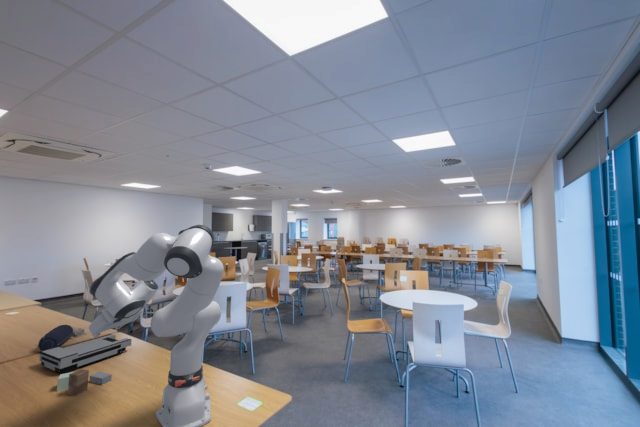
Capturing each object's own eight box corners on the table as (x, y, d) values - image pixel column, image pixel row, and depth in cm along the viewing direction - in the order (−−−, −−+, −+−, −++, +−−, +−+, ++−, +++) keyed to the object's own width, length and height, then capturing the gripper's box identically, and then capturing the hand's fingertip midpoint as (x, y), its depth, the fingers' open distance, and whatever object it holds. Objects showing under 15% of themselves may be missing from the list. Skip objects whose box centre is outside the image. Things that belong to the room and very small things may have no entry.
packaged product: (88, 327, 188) (71, 332, 179) (87, 334, 188) (71, 339, 178) (68, 324, 193) (51, 329, 183) (67, 332, 193) (50, 337, 183)
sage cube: (72, 388, 121) (73, 376, 121) (56, 391, 118) (57, 379, 119) (74, 383, 125) (75, 371, 126) (59, 386, 122) (60, 374, 123)
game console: (130, 352, 159) (131, 337, 160) (59, 377, 131) (60, 359, 131) (109, 345, 168) (110, 331, 169) (38, 368, 140) (40, 351, 140)
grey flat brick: (111, 381, 127) (111, 374, 127) (101, 385, 123) (102, 378, 124) (98, 378, 130) (99, 371, 130) (89, 382, 126) (89, 375, 126)
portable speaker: (53, 340, 176) (55, 324, 177) (74, 338, 181) (75, 322, 181) (34, 355, 154) (35, 336, 155) (58, 352, 158) (59, 334, 159)
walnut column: (87, 389, 120) (88, 370, 120) (76, 395, 115) (77, 375, 116) (79, 388, 120) (80, 369, 121) (67, 394, 116) (69, 374, 117)
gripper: (143, 298, 127) (123, 319, 128) (99, 309, 107) (76, 334, 108) (151, 308, 126) (131, 329, 127) (108, 322, 106) (85, 347, 107)
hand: (106, 331), depth 117 cm, fingers open, 8 cm apart
